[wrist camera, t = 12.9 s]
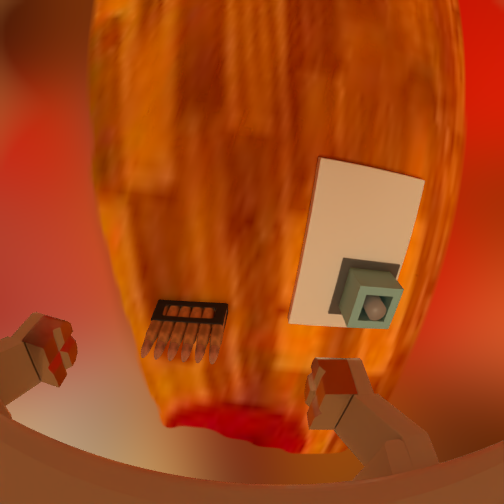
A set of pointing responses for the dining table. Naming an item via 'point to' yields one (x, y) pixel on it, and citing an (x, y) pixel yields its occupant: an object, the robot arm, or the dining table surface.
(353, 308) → the collar
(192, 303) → the ammunition clip
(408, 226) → the post board
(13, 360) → the robot arm
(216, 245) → the dining table surface
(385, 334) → the dining table surface
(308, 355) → the dining table surface
